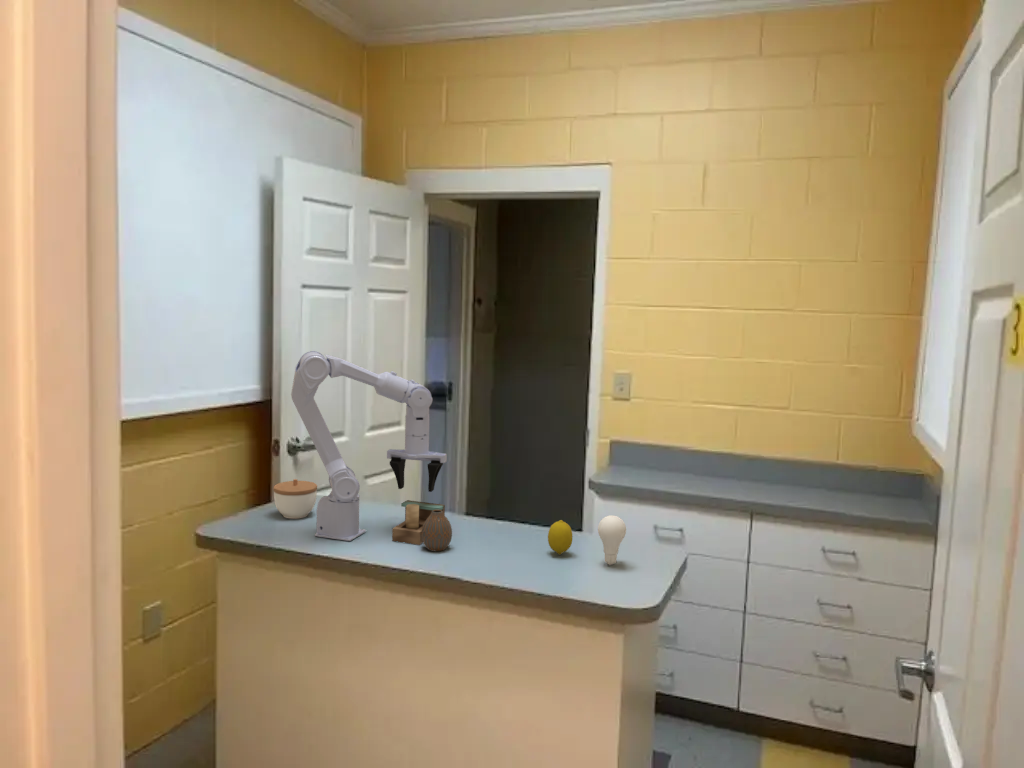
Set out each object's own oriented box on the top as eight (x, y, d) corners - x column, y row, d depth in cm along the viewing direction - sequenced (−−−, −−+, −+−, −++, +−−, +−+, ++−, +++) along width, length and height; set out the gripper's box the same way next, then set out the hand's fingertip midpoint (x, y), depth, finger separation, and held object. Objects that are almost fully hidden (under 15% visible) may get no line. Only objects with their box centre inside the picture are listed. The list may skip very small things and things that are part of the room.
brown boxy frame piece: (386, 540, 181) (386, 511, 180) (406, 526, 191) (407, 500, 190) (425, 545, 178) (426, 517, 177) (444, 532, 188) (444, 504, 187)
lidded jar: (325, 512, 201) (325, 477, 200) (300, 523, 191) (300, 486, 190) (291, 507, 204) (291, 472, 203) (264, 517, 195) (264, 481, 193)
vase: (446, 554, 172) (447, 516, 171) (417, 551, 174) (417, 513, 173) (455, 544, 179) (456, 508, 178) (426, 542, 180) (427, 505, 179)
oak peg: (403, 539, 181) (404, 506, 180) (409, 536, 184) (409, 503, 183) (414, 541, 180) (415, 508, 179) (420, 537, 183) (421, 504, 182)
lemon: (574, 552, 177) (575, 518, 176) (568, 560, 171) (569, 525, 170) (551, 549, 178) (552, 515, 177) (544, 556, 173) (545, 521, 172)
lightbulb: (617, 571, 165) (619, 521, 164) (591, 565, 168) (593, 516, 167) (628, 563, 170) (631, 515, 169) (603, 557, 174) (605, 510, 172)
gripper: (382, 435, 183) (381, 490, 185) (441, 439, 180) (439, 496, 182) (393, 429, 190) (392, 483, 192) (449, 434, 187) (448, 488, 189)
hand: (416, 489), depth 188 cm, fingers open, 7 cm apart
